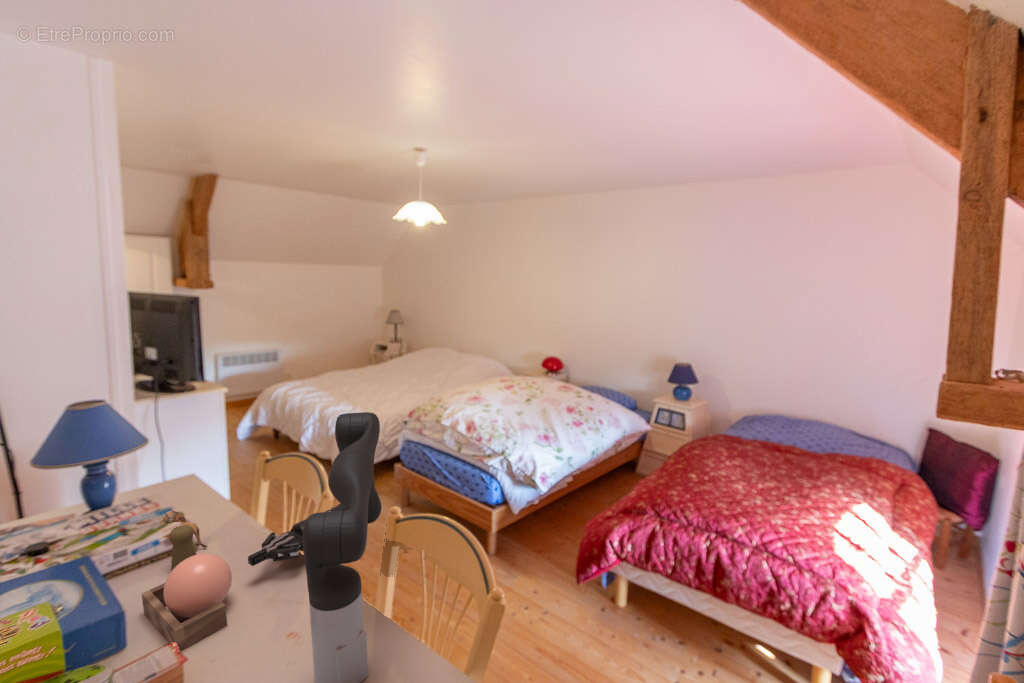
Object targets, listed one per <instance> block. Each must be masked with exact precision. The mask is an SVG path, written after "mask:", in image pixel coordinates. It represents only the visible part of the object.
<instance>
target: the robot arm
mask: <svg viewBox="0 0 1024 683" xmlns="http://www.w3.org/2000/svg"><path fill="white" fill-rule="evenodd" d="M380 424H381V423H380V420H379V417H378V416H377V414H376V413H374V412H369V411H363V412H345V413H342V414H339V415H338V416H337V418H336V421H335V425H334V436H335V442H336V446H337V449H338V452H339V453H338V454H337V455H336V456H335V458H334V460H333V462H332V464H331V467H330V470H329V471H330V472H329V476H328V480H327V481H328V482H327V483H328V488H329V491H330V492H331V494H332V495H333V497H334V498H335V500H337V501H338V502H339V504H338V505H336V506H334V507H331V508H329V509H328V510H325V511H321V512H314V513H312V514H309V516H307V518H305V519H303V520H300V521H299V522H296V523H294V524H293V525H292V527H291V529H290V531H289V530H288V531H286V532H285V531H284V532H282V533H281V534H277V535H276V532H271V533H270V534H269V535H268V536H267V537H266V539H265V540H263V542H262V543H261V549H260V550H258V551H256V552H254V553H252V554H250V555H248V557H247V564H249V565H250V566H251V567H254V566H256V565H259V564H261V563H262V562H265V561H271V560H272V561H273V562H279V561H286V560H293V559H298V558H299V557H300V552H303V558H304V567H305V574H306V582H307V590H308V591H307V592H308V600H309V601H308V602H309V615H310V616H309V618H310V629H311V630H310V632H311V647H312V662H313V663H312V664H313V674H314V675H313V676H314V683H362V681H364V680H365V679H367V678H368V677H369V663H368V662H369V661H368V641H367V632H366V631H365V630H364V615H363V614H364V612H363V593H362V578H361V575H360V573H359V571H357V570H356V569H355V568H353V567H351V566H348V565H345V564H350V563H354V562H357V561H359V560H361V558H362V557H363V556H364V554H365V551H366V547H367V542H368V541H367V540H368V529H369V528H368V525H369V524H372V523H374V522H376V521H377V520H378V519H379V517H380V516H381V512H382V503H381V502H382V501H381V499H380V497H379V496H380V495H379V494H378V492H377V489H376V487H375V486H376V485H375V483H376V482H375V476H374V475H375V474H374V468H375V456H376V455H375V454H376V449H377V446H378V443H379V442H378V441H379V437H380V433H381V425H380ZM330 509H331V510H330ZM329 511H330V512H329ZM299 551H300V552H299ZM343 564H344V565H343Z"/></svg>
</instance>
